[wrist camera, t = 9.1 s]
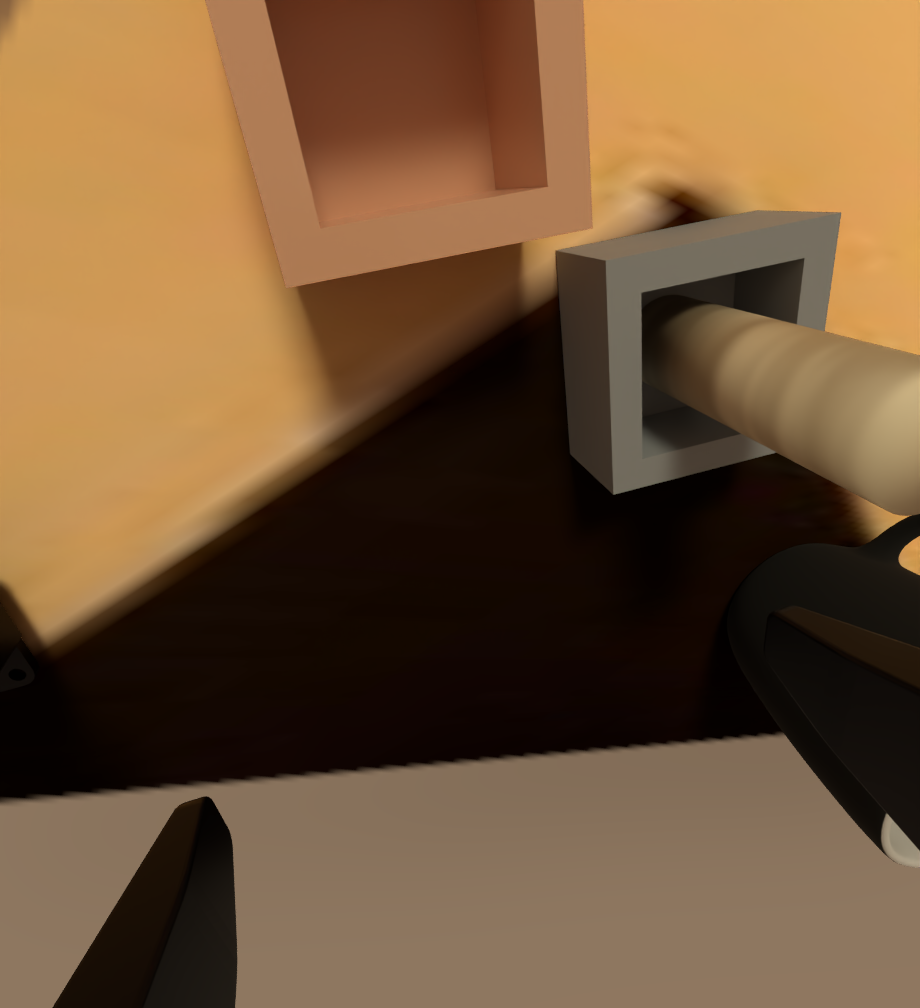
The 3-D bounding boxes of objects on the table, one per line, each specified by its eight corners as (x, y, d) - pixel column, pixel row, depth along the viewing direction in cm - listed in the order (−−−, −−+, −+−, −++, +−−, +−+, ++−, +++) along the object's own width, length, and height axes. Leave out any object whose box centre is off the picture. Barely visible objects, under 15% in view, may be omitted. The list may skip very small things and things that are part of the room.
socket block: (569, 453, 22) (613, 494, 19) (555, 250, 19) (605, 260, 16) (741, 411, 23) (808, 443, 20) (757, 210, 20) (841, 212, 16)
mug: (795, 685, 31) (987, 873, 23) (665, 658, 28) (830, 866, 19) (945, 487, 27) (1249, 622, 19) (814, 427, 24) (1107, 558, 15)
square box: (289, 265, 17) (286, 288, 13) (200, -58, 14) (155, -177, 9) (522, 221, 18) (592, 228, 14) (493, -91, 15) (574, -214, 10)
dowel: (625, 392, 21) (860, 531, 12) (623, 304, 19) (888, 390, 11) (702, 374, 21) (983, 495, 13) (707, 286, 20) (1028, 354, 11)
